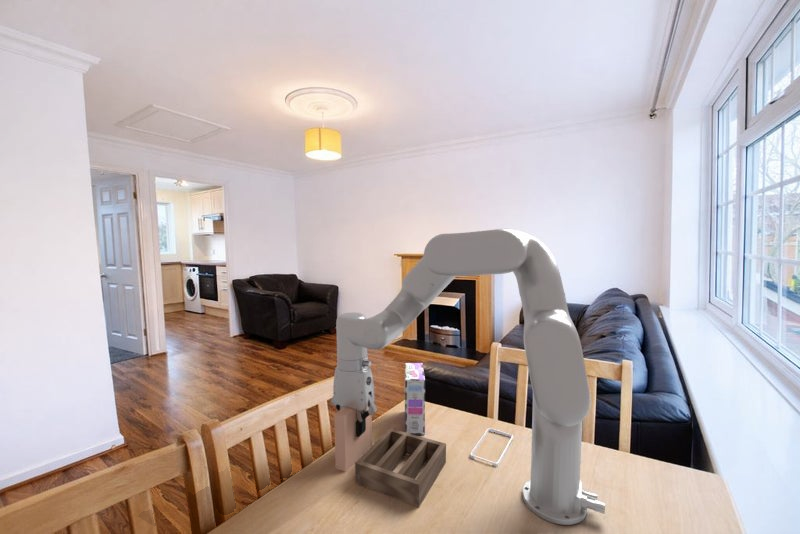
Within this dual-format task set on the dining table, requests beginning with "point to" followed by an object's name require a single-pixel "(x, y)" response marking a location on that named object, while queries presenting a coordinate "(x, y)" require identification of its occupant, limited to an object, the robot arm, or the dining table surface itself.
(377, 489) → the slotted box
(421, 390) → the candy box
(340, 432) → the pink block
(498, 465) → the phone case
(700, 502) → the dining table surface
